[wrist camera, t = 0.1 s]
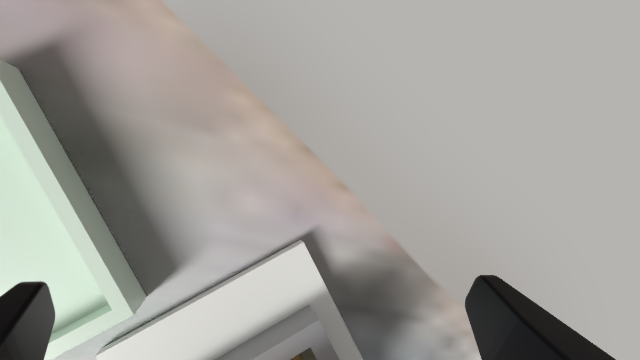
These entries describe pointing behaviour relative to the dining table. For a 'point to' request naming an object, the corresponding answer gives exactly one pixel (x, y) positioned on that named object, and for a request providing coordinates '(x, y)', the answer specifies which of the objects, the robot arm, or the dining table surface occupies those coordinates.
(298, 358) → the tan rectangular block
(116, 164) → the dining table surface
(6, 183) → the parts tray
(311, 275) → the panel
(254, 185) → the dining table surface
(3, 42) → the dining table surface
